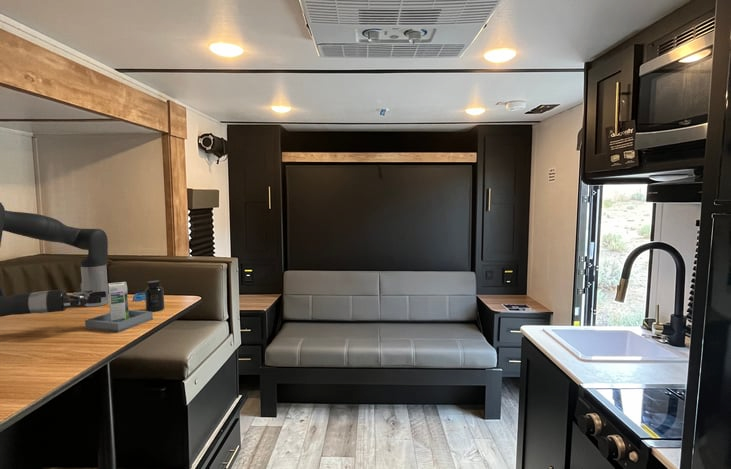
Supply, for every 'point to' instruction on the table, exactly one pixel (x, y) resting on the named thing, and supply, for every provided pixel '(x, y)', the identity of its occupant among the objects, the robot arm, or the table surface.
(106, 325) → the tray
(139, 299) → the handheld gaming device
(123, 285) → the syrup box
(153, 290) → the supplement bottle
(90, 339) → the table surface
